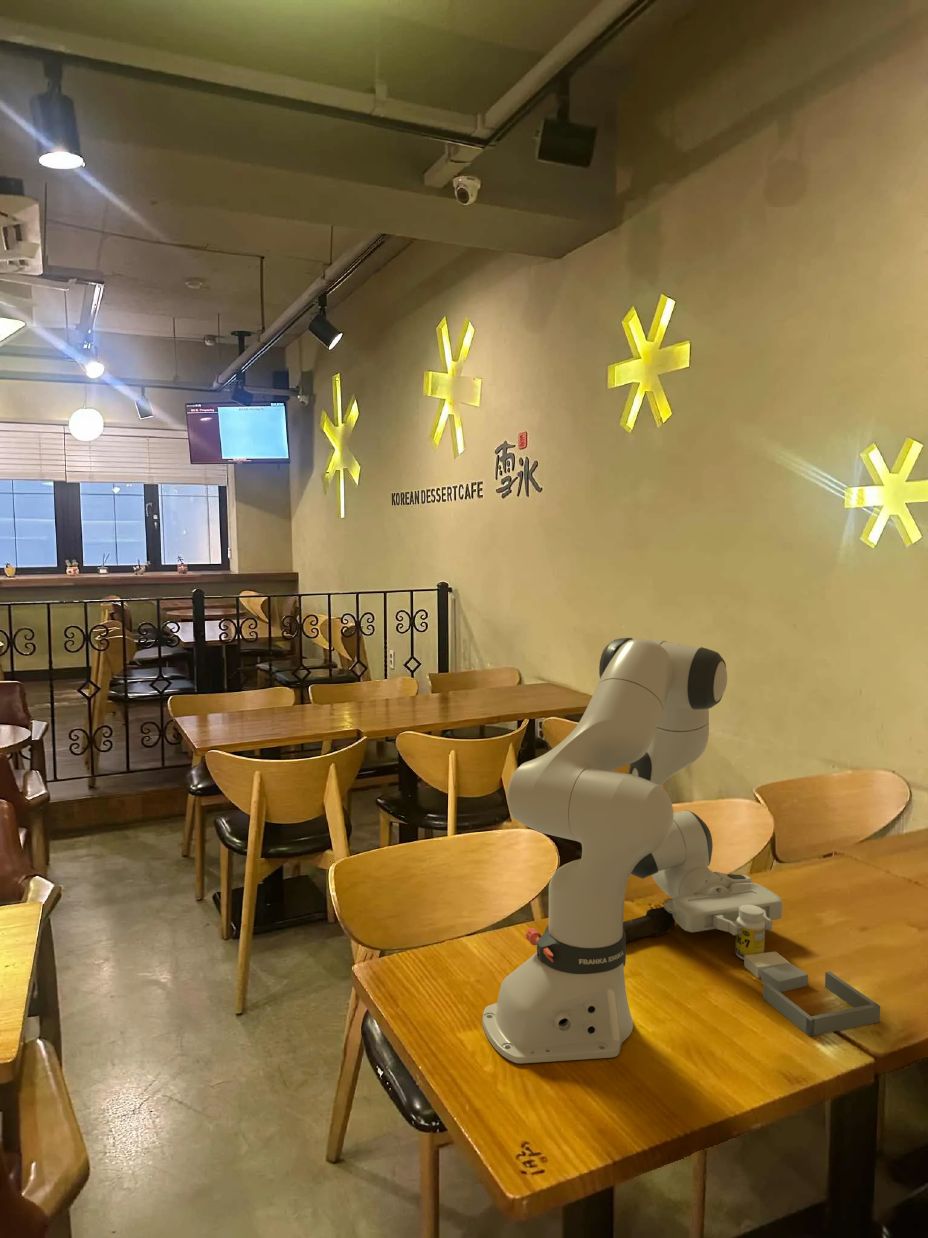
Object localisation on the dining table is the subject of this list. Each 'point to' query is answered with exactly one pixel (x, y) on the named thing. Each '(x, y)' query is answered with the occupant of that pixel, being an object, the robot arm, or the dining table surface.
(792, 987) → the tile near
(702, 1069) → the dining table surface
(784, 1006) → the grey u-shaped frame
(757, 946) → the supplement bottle
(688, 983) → the dining table surface
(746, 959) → the tile far
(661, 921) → the hand tool
